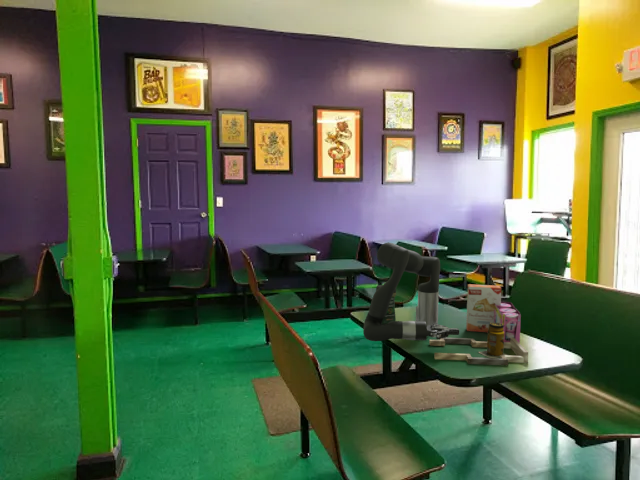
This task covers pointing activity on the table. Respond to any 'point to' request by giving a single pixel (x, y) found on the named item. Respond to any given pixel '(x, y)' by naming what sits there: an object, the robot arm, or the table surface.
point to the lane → (503, 360)
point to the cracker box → (481, 306)
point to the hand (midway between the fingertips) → (458, 331)
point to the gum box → (508, 320)
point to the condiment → (495, 341)
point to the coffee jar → (389, 309)
